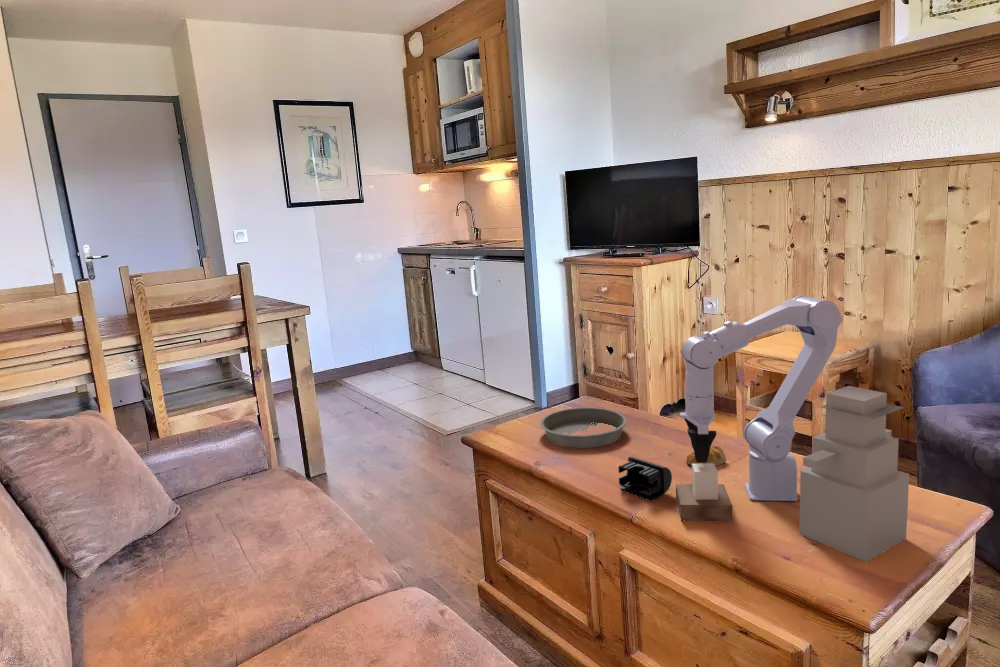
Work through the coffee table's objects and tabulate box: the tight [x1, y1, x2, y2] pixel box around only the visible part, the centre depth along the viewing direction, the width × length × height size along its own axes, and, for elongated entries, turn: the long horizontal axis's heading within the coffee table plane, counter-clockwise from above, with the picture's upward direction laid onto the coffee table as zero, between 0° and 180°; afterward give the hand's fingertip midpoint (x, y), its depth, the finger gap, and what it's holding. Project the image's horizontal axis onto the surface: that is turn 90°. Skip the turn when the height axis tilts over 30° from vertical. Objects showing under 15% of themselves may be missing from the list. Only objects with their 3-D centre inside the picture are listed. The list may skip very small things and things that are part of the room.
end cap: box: [618, 456, 673, 502], centre depth 147 cm, size 10×7×7 cm
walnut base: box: [675, 483, 733, 523], centre depth 136 cm, size 10×10×4 cm
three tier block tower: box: [798, 385, 910, 563], centre depth 120 cm, size 13×24×28 cm, turn 121°
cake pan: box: [539, 407, 628, 449], centre depth 186 cm, size 25×25×4 cm
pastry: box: [685, 445, 727, 466], centre depth 161 cm, size 9×7×4 cm
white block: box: [691, 463, 719, 500], centre depth 135 cm, size 4×4×6 cm
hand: (699, 455), depth 139 cm, fingers open, 7 cm apart
